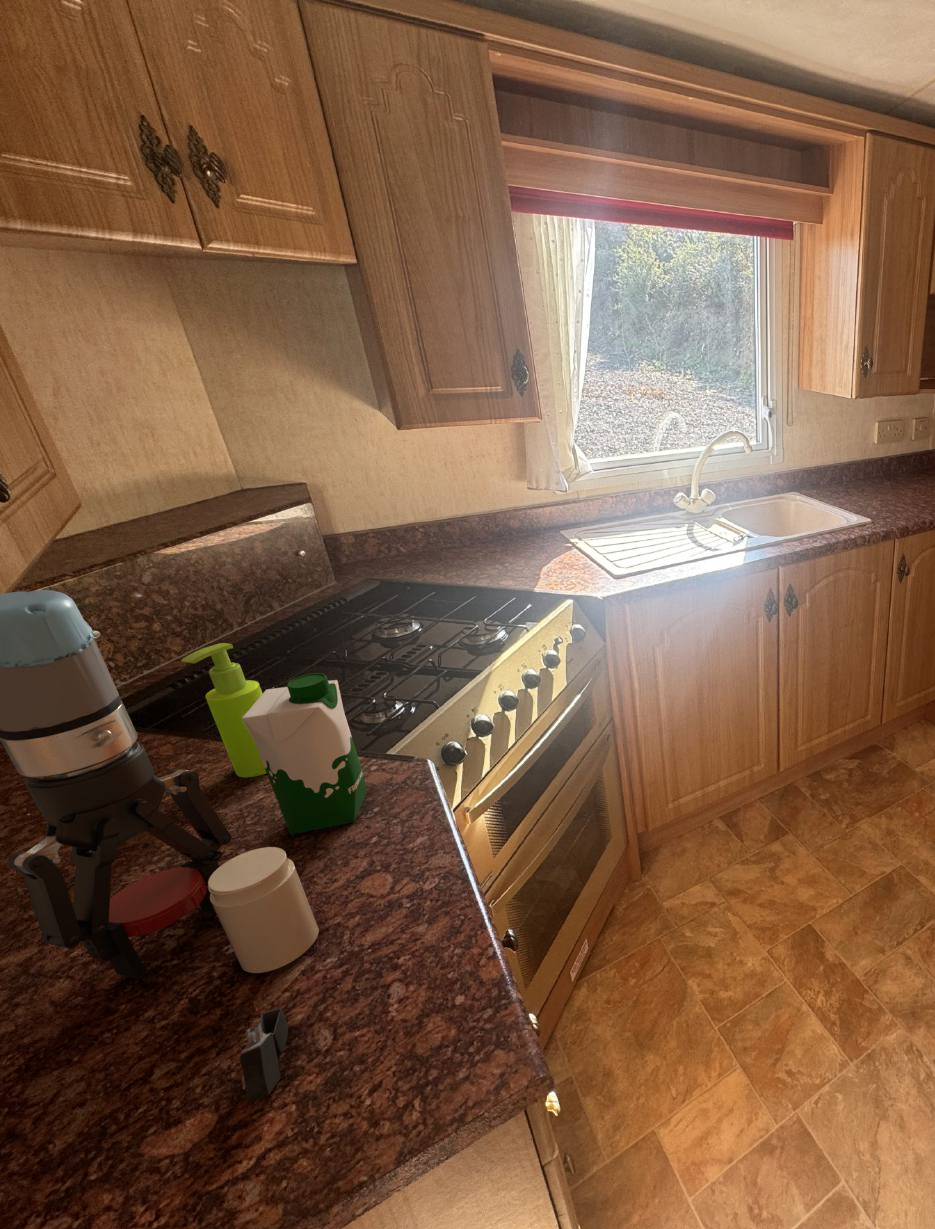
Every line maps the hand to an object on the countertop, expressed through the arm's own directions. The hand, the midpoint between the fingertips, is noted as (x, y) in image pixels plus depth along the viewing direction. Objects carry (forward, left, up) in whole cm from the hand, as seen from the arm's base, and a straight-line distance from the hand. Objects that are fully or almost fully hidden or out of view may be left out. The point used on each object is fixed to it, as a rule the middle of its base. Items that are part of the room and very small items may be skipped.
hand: (176, 940), depth 68 cm
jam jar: (+8, +7, -1) cm, 11 cm away
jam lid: (0, 0, +6) cm, 6 cm away
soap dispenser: (-33, +13, -1) cm, 36 cm away
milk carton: (-13, +17, -1) cm, 21 cm away
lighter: (+23, +3, -1) cm, 23 cm away
